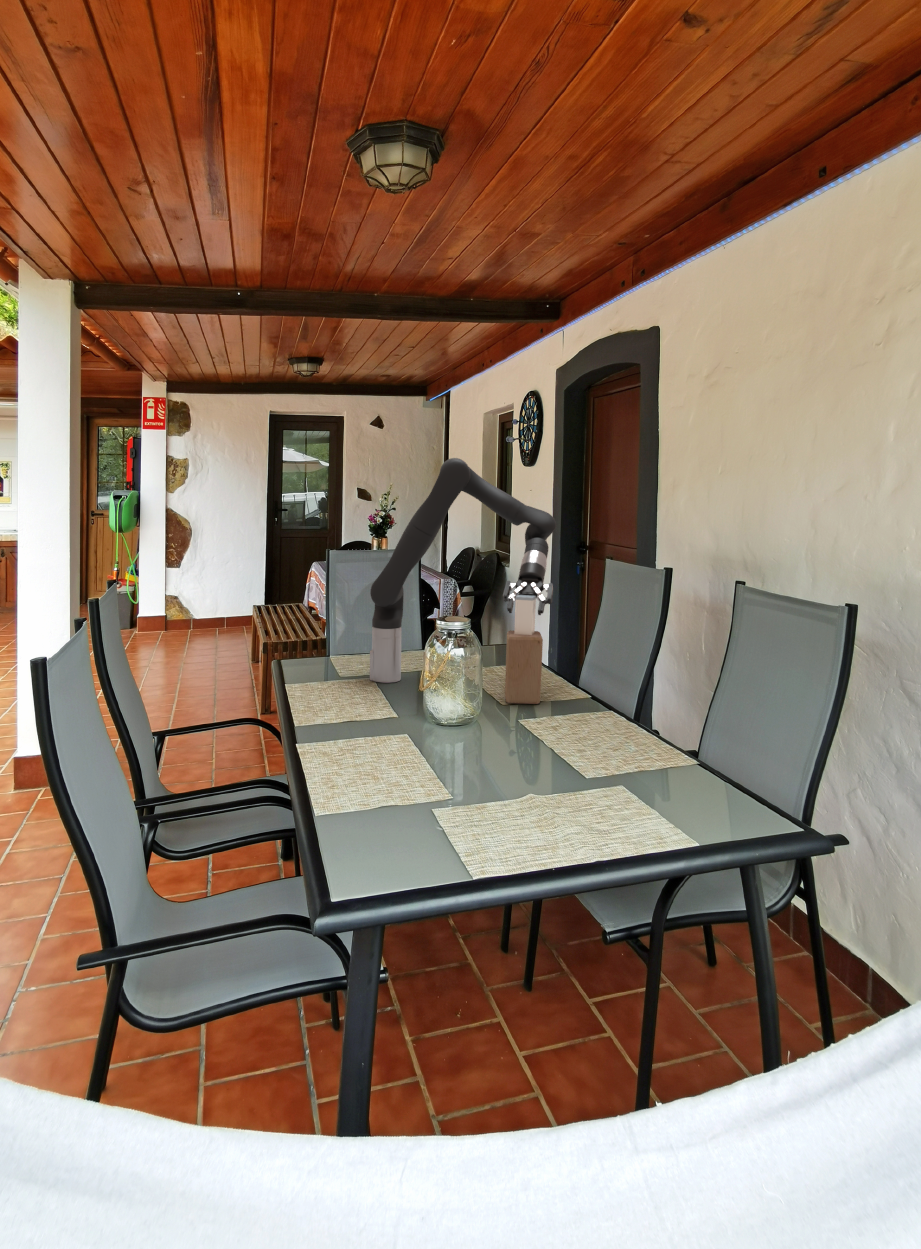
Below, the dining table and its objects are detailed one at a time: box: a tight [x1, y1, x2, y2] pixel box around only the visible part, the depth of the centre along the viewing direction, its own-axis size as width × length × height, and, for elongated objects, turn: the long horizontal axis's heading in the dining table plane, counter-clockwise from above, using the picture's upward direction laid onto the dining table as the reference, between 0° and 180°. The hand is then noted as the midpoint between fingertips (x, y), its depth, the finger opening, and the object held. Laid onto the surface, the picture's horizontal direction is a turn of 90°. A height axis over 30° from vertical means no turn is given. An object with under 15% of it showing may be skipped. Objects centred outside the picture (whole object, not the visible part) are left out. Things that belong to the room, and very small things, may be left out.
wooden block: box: [504, 629, 544, 705], centre depth 237 cm, size 10×10×20 cm
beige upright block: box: [514, 595, 537, 635], centre depth 235 cm, size 5×5×11 cm
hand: (524, 612), depth 233 cm, fingers open, 8 cm apart
